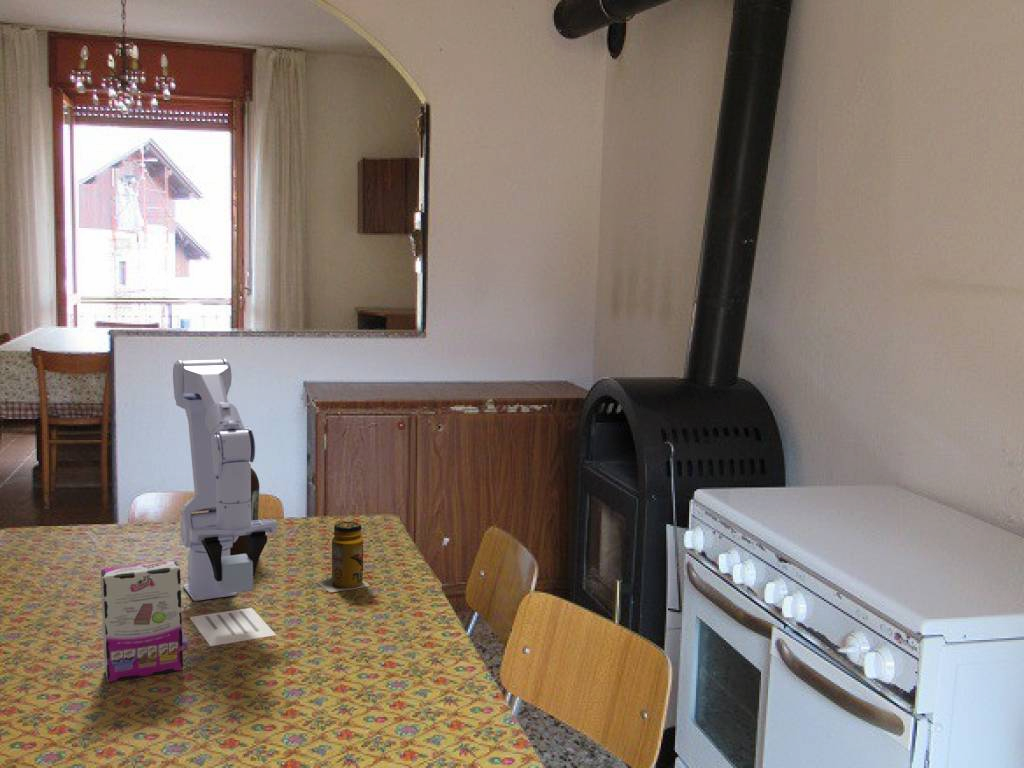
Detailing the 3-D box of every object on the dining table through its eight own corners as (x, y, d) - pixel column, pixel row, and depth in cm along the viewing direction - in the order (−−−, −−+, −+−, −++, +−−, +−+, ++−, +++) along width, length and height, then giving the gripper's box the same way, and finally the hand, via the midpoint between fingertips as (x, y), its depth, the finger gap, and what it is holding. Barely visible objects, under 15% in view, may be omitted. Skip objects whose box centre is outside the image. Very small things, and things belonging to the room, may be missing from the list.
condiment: (370, 586, 201) (371, 526, 200) (330, 593, 197) (330, 532, 195) (354, 576, 207) (355, 517, 206) (315, 582, 203) (315, 523, 201)
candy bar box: (178, 659, 164) (176, 558, 162) (184, 670, 159) (182, 567, 157) (102, 671, 159) (99, 567, 157) (106, 683, 154) (103, 576, 152)
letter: (189, 617, 182) (189, 617, 182) (251, 608, 188) (251, 607, 188) (210, 646, 169) (210, 645, 169) (276, 635, 175) (276, 634, 175)
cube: (217, 585, 179) (216, 557, 179) (246, 581, 182) (245, 553, 181) (223, 594, 175) (222, 565, 174) (253, 589, 177) (252, 561, 177)
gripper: (196, 509, 169) (197, 590, 171) (282, 500, 177) (283, 578, 178) (186, 500, 175) (187, 578, 177) (270, 492, 183) (270, 567, 184)
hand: (234, 577), depth 178 cm, fingers closed on cube, 5 cm apart
